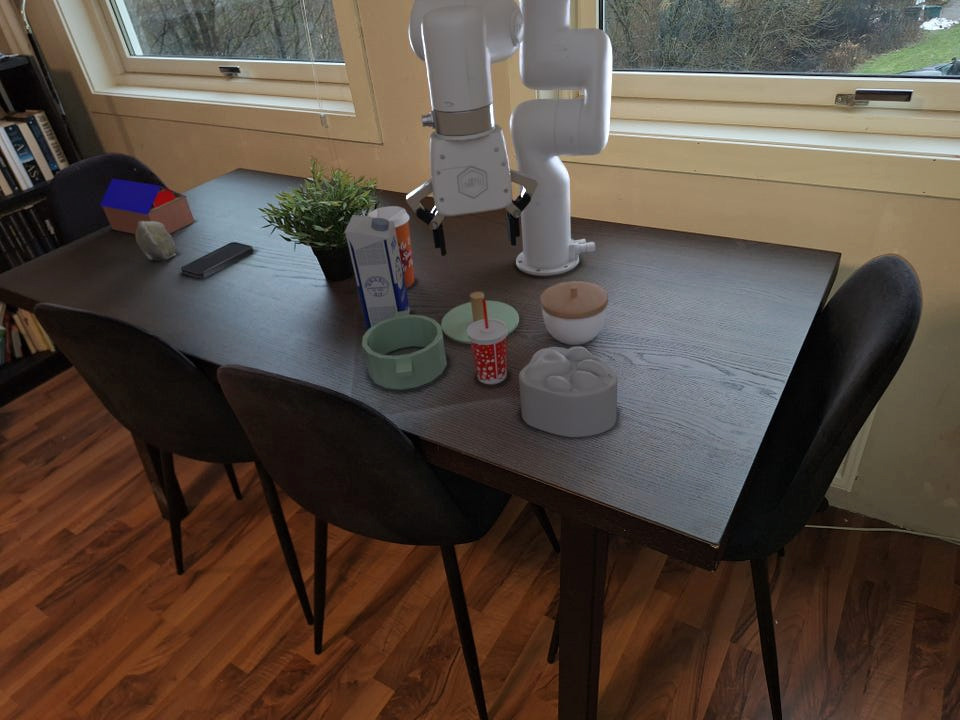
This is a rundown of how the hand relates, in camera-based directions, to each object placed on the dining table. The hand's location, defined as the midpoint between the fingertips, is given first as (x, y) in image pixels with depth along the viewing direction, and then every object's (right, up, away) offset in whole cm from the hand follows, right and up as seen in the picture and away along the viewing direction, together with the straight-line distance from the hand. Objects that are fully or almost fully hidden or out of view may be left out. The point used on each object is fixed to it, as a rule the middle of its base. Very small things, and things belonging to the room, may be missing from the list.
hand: (477, 246), depth 91 cm
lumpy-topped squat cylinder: (+13, -23, +3) cm, 27 cm away
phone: (-59, +6, +58) cm, 83 cm away
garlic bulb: (-75, +9, +64) cm, 99 cm away
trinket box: (+16, -12, +19) cm, 28 cm away
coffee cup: (-16, -1, +41) cm, 44 cm away
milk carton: (-16, -9, +29) cm, 34 cm away
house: (-85, +20, +82) cm, 120 cm away
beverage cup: (+2, -19, +12) cm, 22 cm away
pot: (-11, -17, +16) cm, 26 cm away
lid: (0, -9, +25) cm, 26 cm away
